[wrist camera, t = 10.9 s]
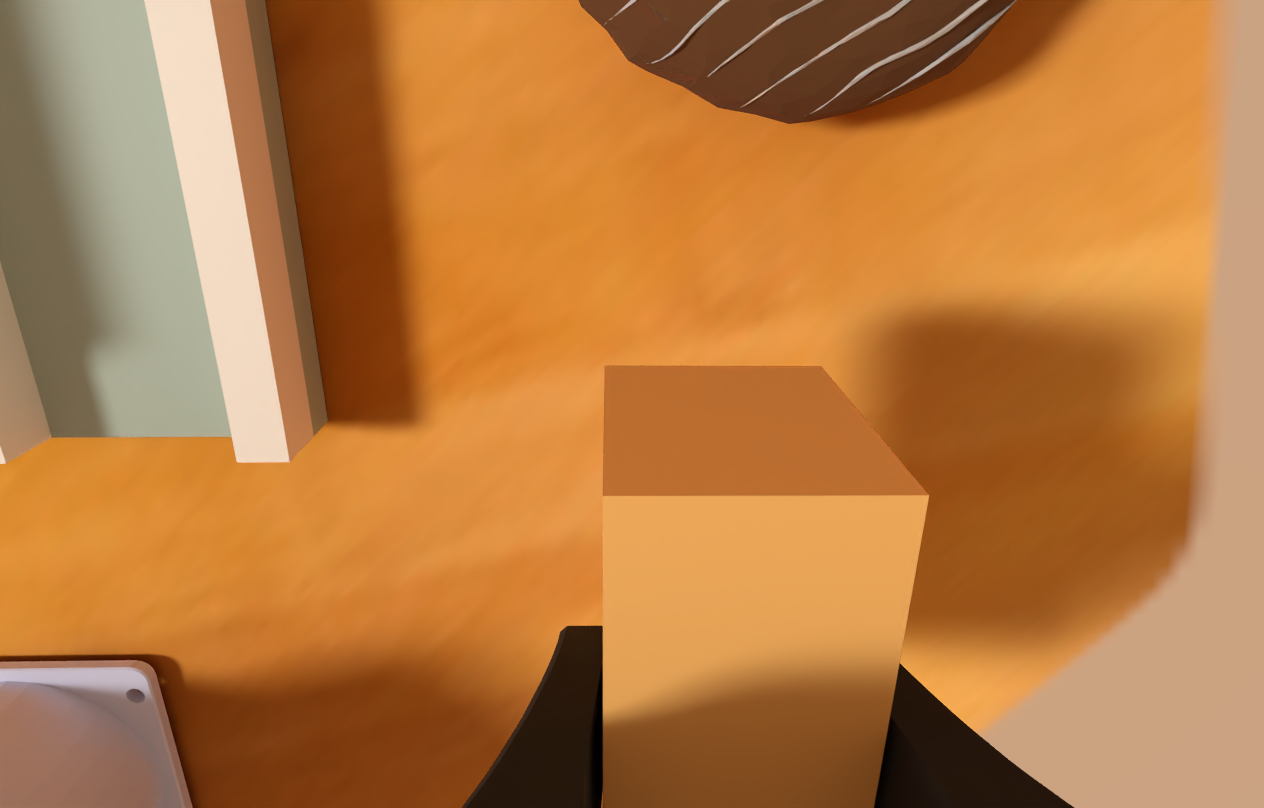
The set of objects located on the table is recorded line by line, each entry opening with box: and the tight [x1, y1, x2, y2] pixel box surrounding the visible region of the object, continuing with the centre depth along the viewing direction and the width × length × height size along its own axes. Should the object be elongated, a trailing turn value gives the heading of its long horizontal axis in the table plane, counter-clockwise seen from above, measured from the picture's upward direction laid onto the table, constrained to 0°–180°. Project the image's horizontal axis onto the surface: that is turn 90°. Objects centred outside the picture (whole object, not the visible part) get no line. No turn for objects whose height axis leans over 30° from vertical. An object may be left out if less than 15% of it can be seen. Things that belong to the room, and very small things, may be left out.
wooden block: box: [603, 366, 929, 808], centre depth 12 cm, size 10×4×4 cm, turn 179°
